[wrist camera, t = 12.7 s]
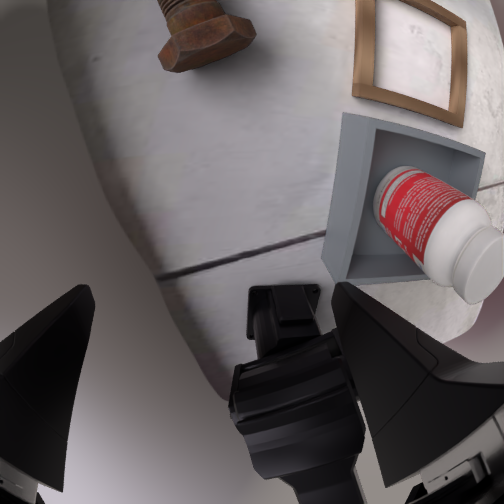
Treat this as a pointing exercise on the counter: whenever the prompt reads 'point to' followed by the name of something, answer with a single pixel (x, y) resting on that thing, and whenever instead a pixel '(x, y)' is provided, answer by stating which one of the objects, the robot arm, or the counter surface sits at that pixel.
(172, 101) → the counter surface
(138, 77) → the counter surface
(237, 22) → the bolt
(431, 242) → the pill bottle
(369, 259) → the bin
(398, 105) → the wooden frame
